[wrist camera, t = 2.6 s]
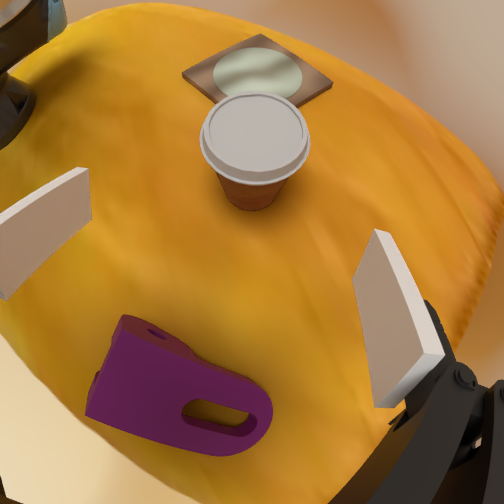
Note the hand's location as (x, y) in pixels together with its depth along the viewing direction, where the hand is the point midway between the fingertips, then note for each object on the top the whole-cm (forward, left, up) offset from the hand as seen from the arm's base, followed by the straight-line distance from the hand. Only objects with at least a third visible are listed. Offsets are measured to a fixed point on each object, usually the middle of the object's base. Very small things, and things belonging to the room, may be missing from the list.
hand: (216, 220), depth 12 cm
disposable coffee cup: (-7, +9, -20) cm, 23 cm away
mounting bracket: (+6, -12, -21) cm, 25 cm away
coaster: (-20, +22, -20) cm, 36 cm away
